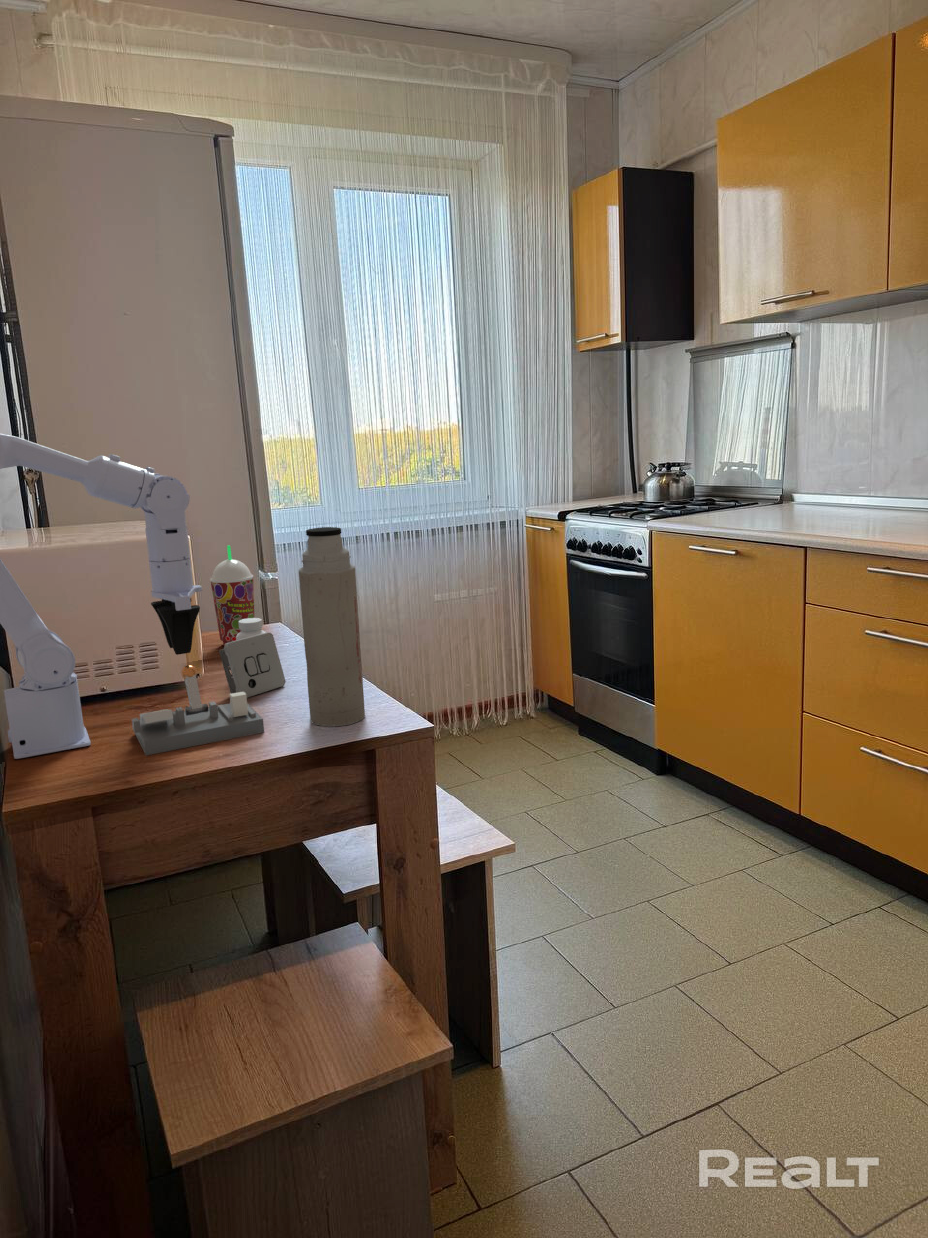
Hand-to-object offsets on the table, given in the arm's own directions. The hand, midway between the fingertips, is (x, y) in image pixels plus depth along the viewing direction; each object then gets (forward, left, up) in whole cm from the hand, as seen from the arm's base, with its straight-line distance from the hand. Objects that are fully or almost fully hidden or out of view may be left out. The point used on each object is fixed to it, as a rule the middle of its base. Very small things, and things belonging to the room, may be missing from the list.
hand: (179, 650), depth 129 cm
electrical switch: (+12, +7, -11) cm, 18 cm away
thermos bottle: (+19, -14, -11) cm, 26 cm away
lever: (0, -9, -7) cm, 11 cm away
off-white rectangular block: (+5, -11, -8) cm, 14 cm away
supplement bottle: (+15, +17, -11) cm, 25 cm away
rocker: (-5, -9, -7) cm, 12 cm away
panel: (0, -9, -10) cm, 13 cm away
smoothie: (+18, +41, -11) cm, 46 cm away
